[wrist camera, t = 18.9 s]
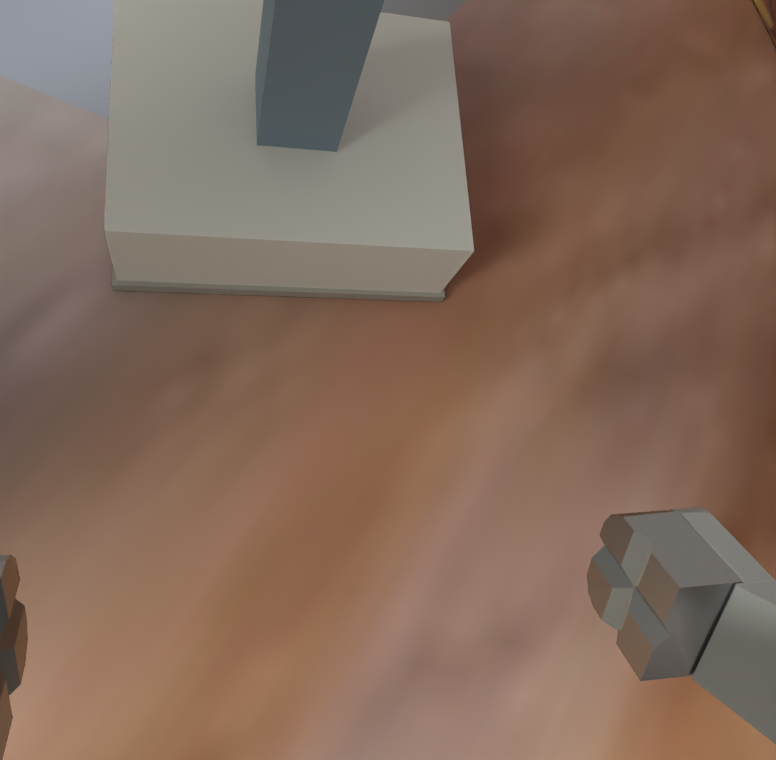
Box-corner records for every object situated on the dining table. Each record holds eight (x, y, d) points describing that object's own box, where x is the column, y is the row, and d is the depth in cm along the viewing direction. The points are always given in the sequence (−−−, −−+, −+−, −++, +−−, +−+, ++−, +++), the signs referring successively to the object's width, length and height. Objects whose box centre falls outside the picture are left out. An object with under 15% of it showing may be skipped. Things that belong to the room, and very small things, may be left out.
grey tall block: (256, 145, 39) (279, -31, 28) (255, 76, 41) (276, -119, 29) (336, 151, 40) (388, -15, 29) (332, 84, 42) (381, -100, 31)
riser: (112, 290, 42) (97, 235, 36) (122, 55, 47) (109, -31, 40) (441, 301, 47) (479, 256, 41) (421, 90, 52) (453, 18, 45)
